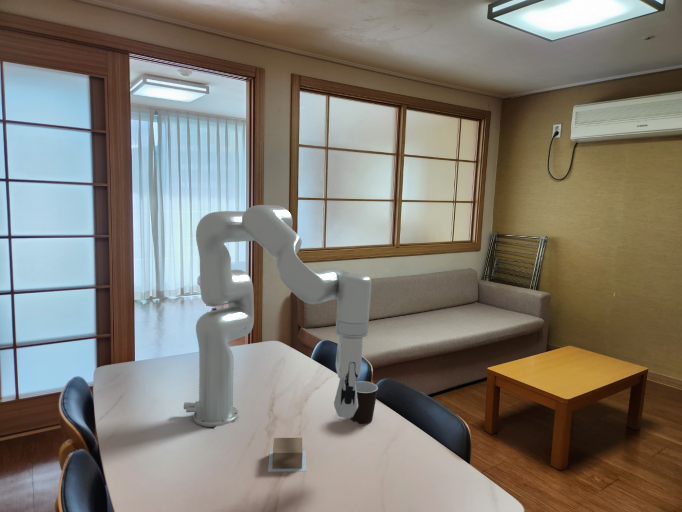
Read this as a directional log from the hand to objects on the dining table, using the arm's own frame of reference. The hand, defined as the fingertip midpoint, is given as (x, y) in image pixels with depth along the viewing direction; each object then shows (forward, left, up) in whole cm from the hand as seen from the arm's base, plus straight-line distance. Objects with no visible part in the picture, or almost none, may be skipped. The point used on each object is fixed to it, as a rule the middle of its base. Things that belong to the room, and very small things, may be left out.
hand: (346, 401), depth 111 cm
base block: (-14, +3, -16) cm, 21 cm away
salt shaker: (0, 0, -3) cm, 3 cm away
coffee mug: (+8, +27, -17) cm, 33 cm away
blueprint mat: (-14, +3, -17) cm, 22 cm away
